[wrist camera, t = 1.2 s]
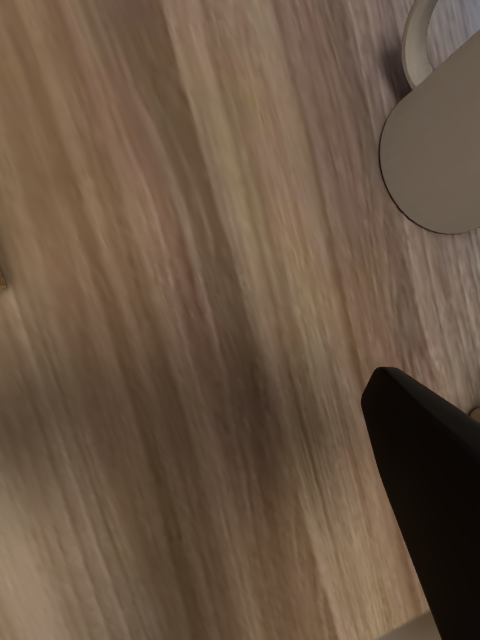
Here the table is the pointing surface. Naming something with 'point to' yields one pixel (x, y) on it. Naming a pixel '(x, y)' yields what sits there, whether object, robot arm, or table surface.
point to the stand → (2, 282)
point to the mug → (435, 133)
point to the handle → (476, 415)
